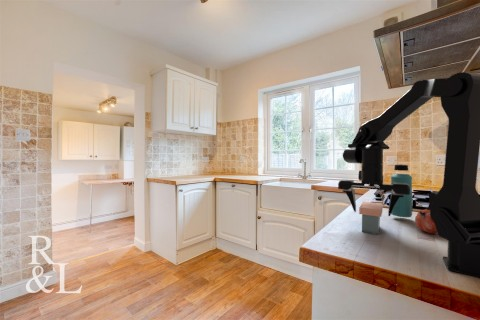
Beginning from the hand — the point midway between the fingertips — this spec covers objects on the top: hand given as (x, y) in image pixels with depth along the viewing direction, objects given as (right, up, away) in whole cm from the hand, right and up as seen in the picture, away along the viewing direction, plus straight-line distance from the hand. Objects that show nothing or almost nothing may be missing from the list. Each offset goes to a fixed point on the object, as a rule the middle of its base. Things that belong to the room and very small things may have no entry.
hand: (371, 213), depth 69 cm
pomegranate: (+16, -5, -2) cm, 17 cm away
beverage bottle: (+17, -5, +11) cm, 21 cm away
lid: (0, +1, 0) cm, 1 cm away
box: (0, -5, 0) cm, 5 cm away
